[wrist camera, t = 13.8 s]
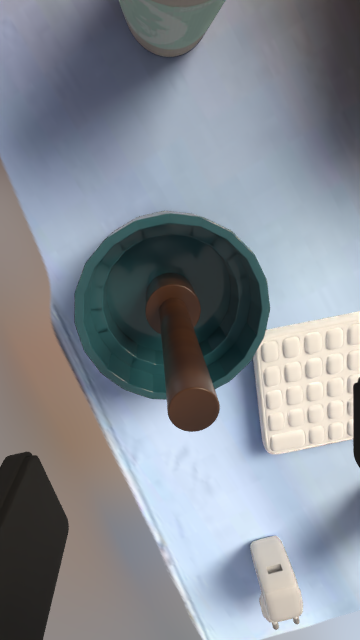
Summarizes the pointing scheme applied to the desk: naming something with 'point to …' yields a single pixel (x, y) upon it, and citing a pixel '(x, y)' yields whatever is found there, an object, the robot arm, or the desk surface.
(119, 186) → the desk surface
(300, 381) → the calculator
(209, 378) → the muddler
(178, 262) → the bowl
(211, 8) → the coffee cup
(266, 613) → the power adapter
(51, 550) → the robot arm
